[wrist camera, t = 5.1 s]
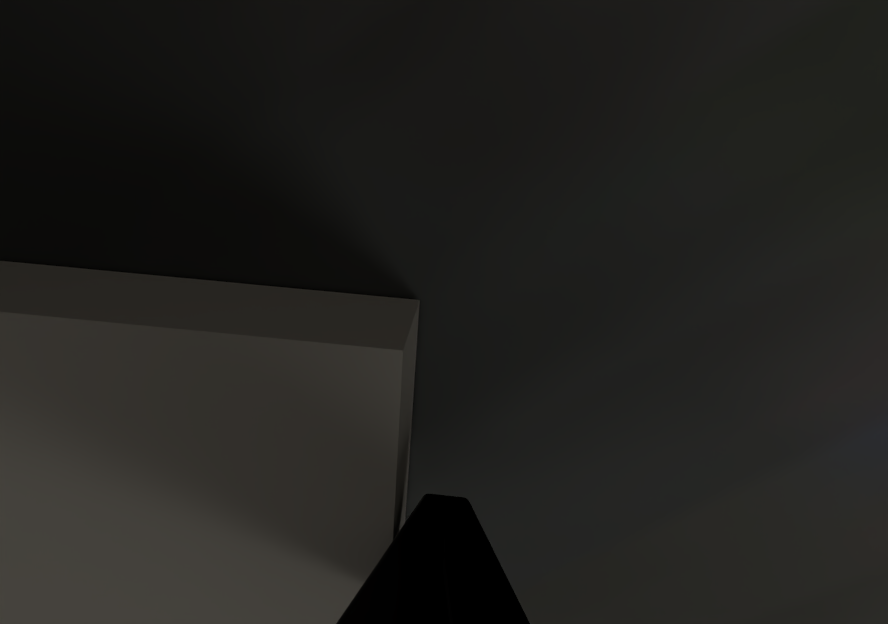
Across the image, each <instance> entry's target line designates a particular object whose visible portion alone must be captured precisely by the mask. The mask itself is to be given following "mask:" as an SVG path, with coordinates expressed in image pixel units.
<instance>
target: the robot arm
mask: <svg viewBox="0 0 888 624" xmlns="http://www.w3.org/2000/svg"><path fill="white" fill-rule="evenodd" d="M336 624H530V623H529V621H528V619H527V617H526V615H525V613H524V611H523V609H522V607H521V605H520V603H519V601H518V599H517V597H516V595H515V593H514V591H513V589H512V587H511V585H510V583H509V581H508V579H507V577H506V575H505V573H504V571H503V569H502V567H501V565H500V563H499V561H498V559H497V557H496V555H495V552H494V550H493V548H492V546H491V544H490V542H489V540H488V538H487V536H486V534H485V532H484V530H483V528H482V526H481V524H480V522H479V520H478V518H477V516H476V514H475V512H474V510H473V508H472V506H471V504H470V502H469V501H468V499H466V498H464V497H455V496H445V495H437V494H425V495H424V496H423V497H422V499H421V500H420V502H419V503H418V505H417V506H416V508H415V509H414V511H413V512H412V513H411V515H410V516H409V518H408V519H407V521H406V522H405V524H404V525H403V527H402V528H401V530H400V531H399V532H398V534H397V535H396V537H395V538H394V540H393V541H392V543H391V544H390V546H389V547H388V548H387V550H386V551H385V553H384V554H383V556H382V557H381V559H380V560H379V562H378V563H377V565H376V566H375V567H374V569H373V570H372V572H371V573H370V575H369V576H368V578H367V579H366V581H365V582H364V584H363V585H362V586H361V588H360V589H359V591H358V592H357V594H356V595H355V597H354V598H353V600H352V601H351V603H350V604H349V605H348V607H347V608H346V610H345V611H344V613H343V614H342V616H341V617H340V619H339V620H338V622H337V623H336Z"/></svg>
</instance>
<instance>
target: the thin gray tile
mask: <svg viewBox="0 0 888 624" xmlns="http://www.w3.org/2000/svg"><path fill="white" fill-rule="evenodd" d="M419 303H420V300H414V299H403V298H392V297H382V296H371V295H360V294H350V293H339V292H328V291H318V290H307V289H296V288H286V287H275V286H264V285H254V284H243V283H232V282H222V281H211V280H200V279H190V278H179V277H168V276H158V275H147V274H136V273H126V272H115V271H104V270H94V269H83V268H72V267H62V266H51V265H40V264H30V263H19V262H8V261H0V624H336V623H337V622H338V620H339V619H340V617H341V616H342V614H343V613H344V611H345V610H346V608H347V607H348V605H349V604H350V603H351V601H352V600H353V598H354V597H355V595H356V594H357V592H358V591H359V589H360V588H361V586H362V585H363V584H364V582H365V581H366V579H367V578H368V576H369V575H370V573H371V572H372V570H373V569H374V567H375V566H376V565H377V563H378V562H379V560H380V559H381V557H382V556H383V554H384V553H385V551H386V550H387V548H388V547H389V546H390V544H391V543H392V541H393V540H394V538H395V537H396V535H397V534H398V532H399V531H400V530H401V528H402V527H403V525H404V524H405V517H406V501H407V486H408V471H409V456H410V440H411V425H412V410H413V395H414V379H415V364H416V349H417V333H418V318H419Z"/></svg>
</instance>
